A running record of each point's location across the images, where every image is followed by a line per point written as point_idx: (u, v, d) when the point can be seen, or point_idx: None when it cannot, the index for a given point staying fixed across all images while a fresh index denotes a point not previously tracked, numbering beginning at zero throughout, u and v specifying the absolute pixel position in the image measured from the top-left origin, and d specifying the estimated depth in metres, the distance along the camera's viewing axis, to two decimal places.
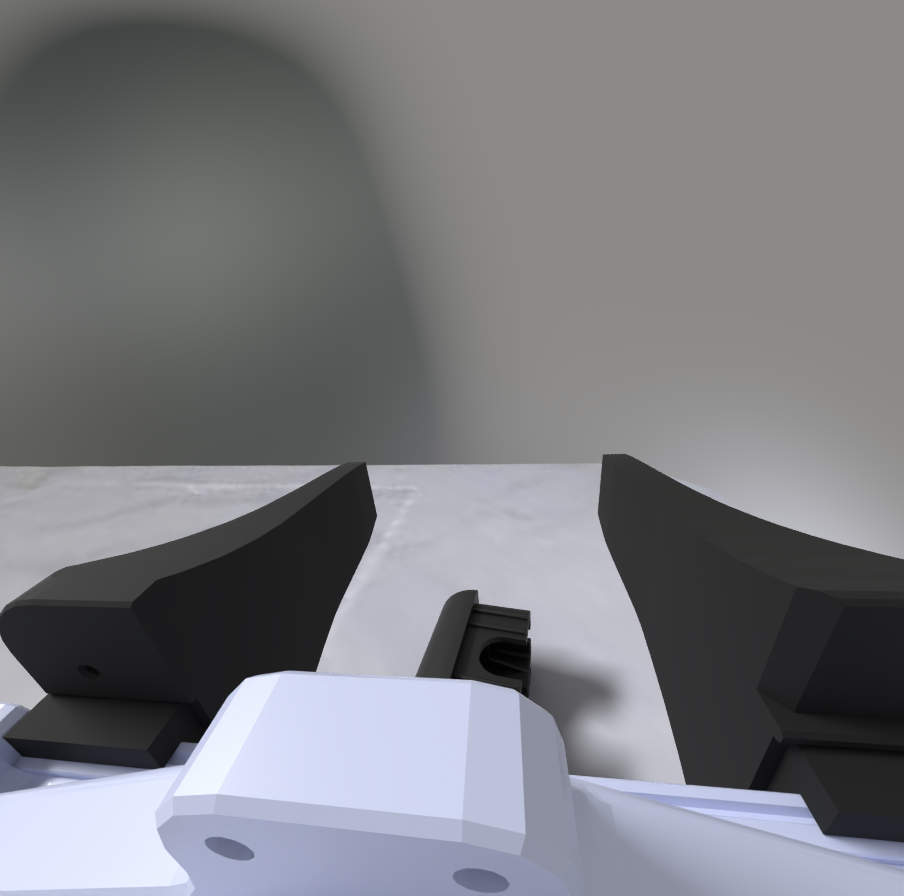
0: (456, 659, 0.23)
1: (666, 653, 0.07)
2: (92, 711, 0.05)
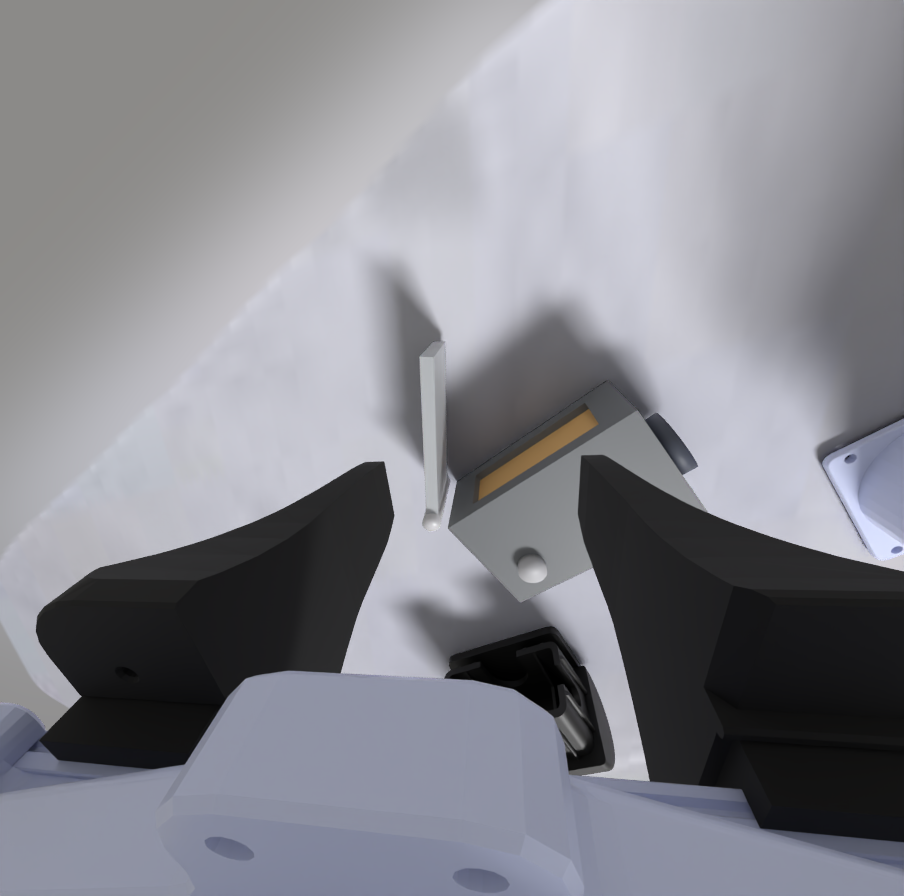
0: None
1: (633, 652, 0.07)
2: (129, 714, 0.05)
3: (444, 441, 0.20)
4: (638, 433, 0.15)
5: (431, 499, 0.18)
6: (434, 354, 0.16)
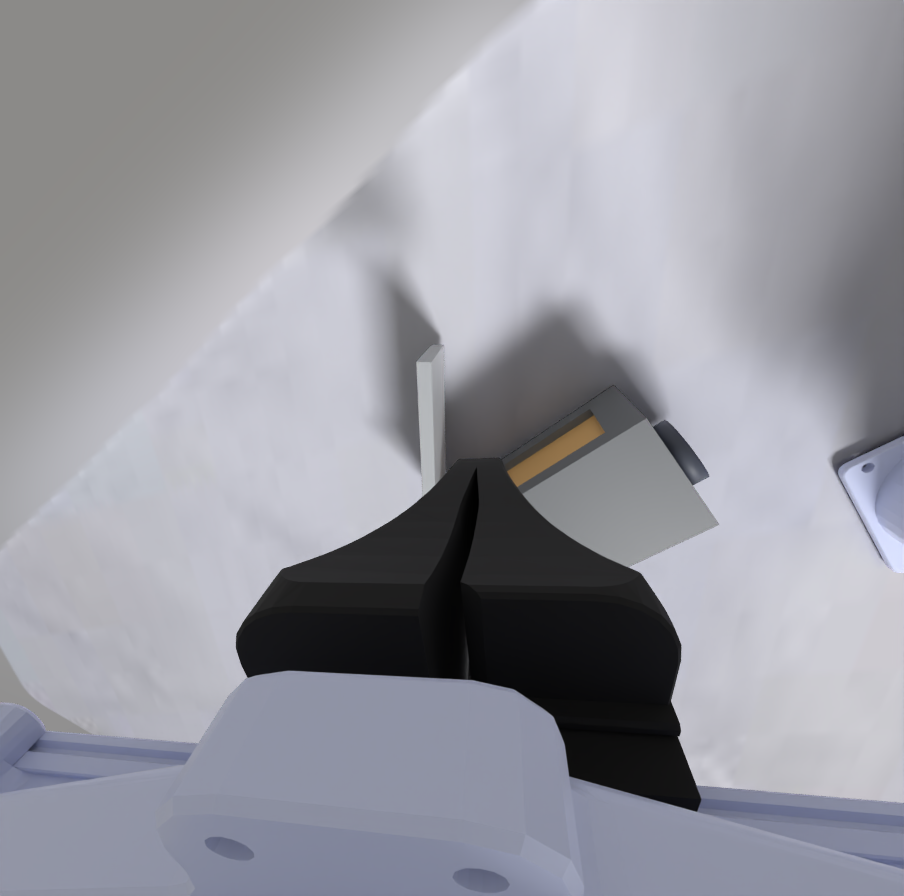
0: None
1: None
2: None
3: (443, 448, 0.19)
4: (647, 442, 0.14)
5: None
6: (432, 359, 0.15)
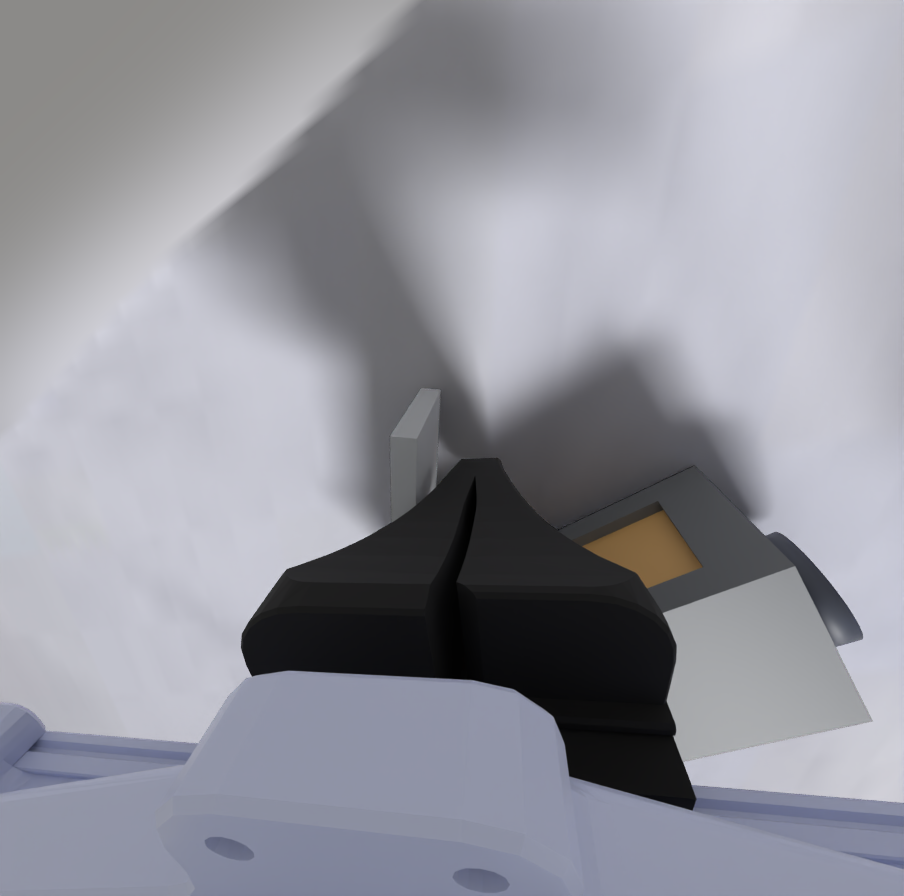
0: None
1: None
2: None
3: None
4: (785, 601, 0.08)
5: None
6: (419, 429, 0.09)
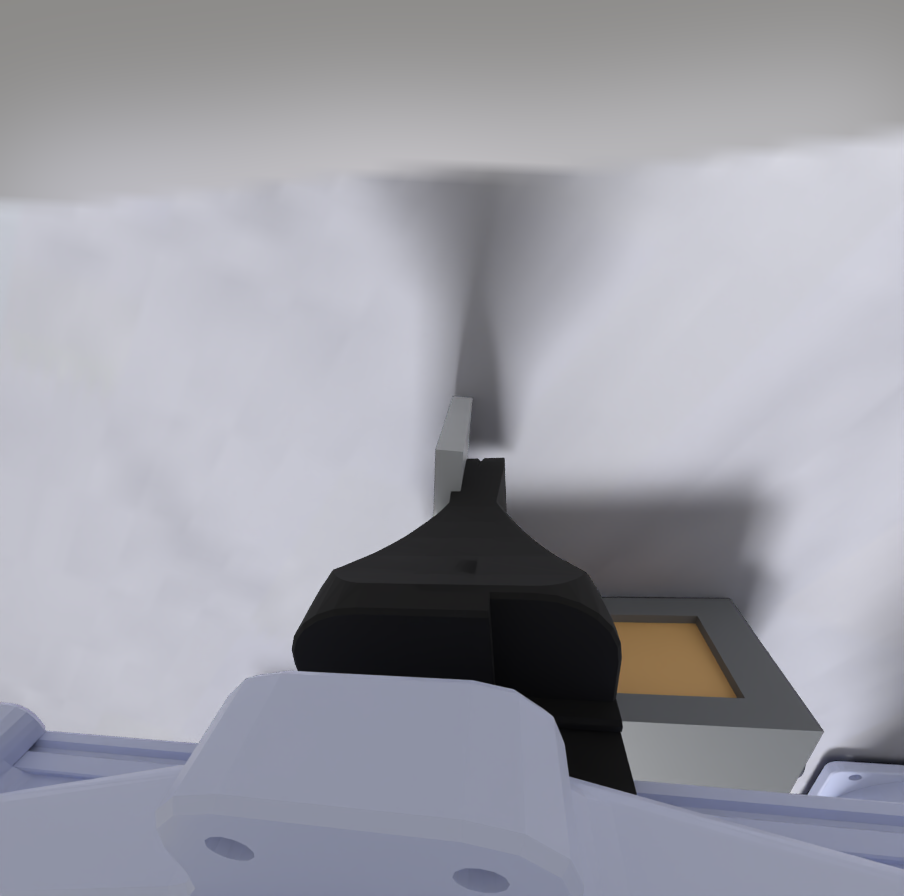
0: None
1: None
2: None
3: None
4: (794, 749, 0.11)
5: None
6: (462, 441, 0.08)
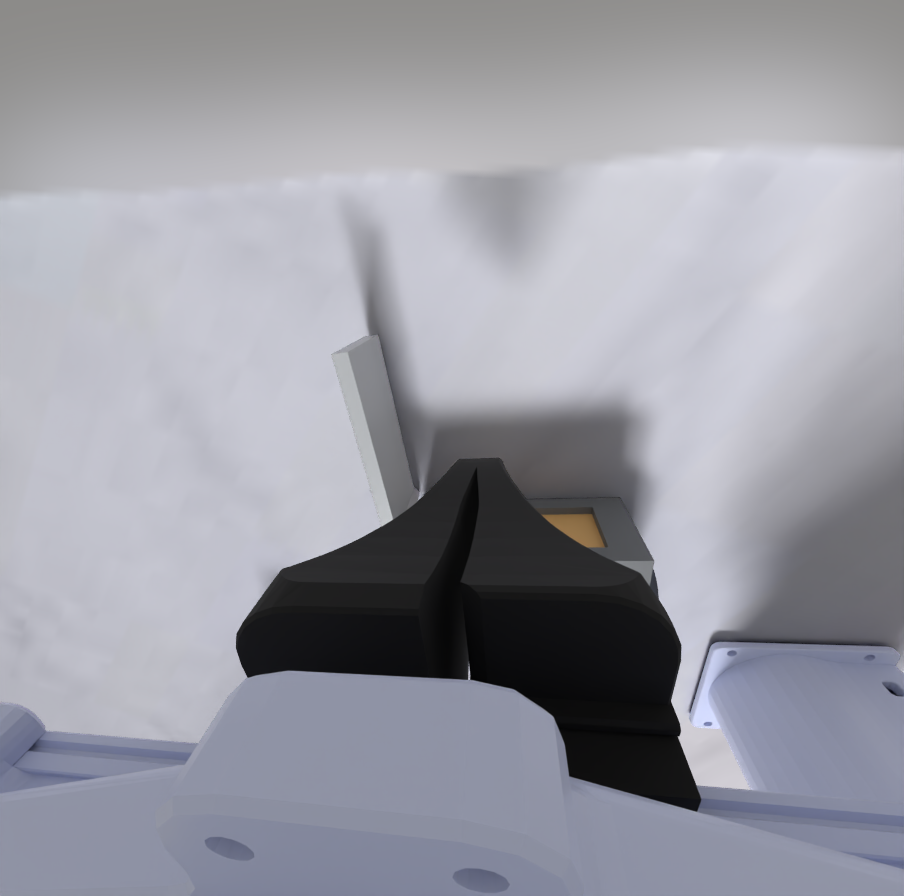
0: None
1: None
2: None
3: (398, 449, 0.17)
4: None
5: (385, 518, 0.16)
6: (351, 349, 0.13)
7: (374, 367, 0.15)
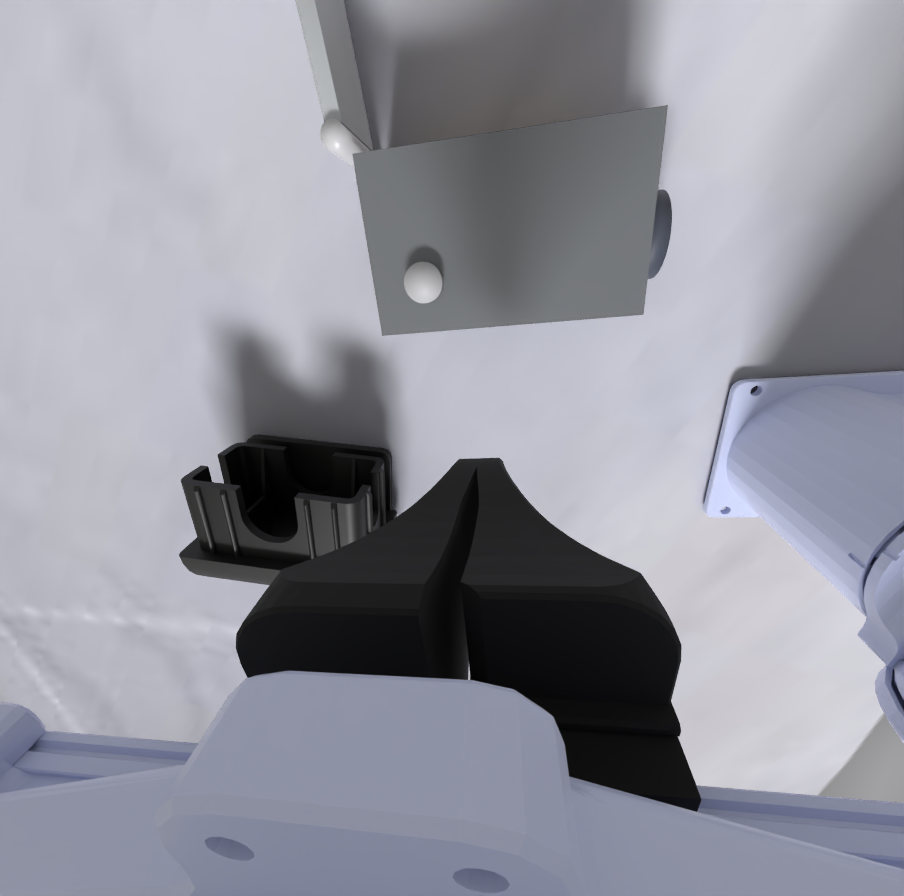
0: None
1: None
2: None
3: (349, 58, 0.14)
4: (647, 145, 0.12)
5: (326, 91, 0.12)
6: None
7: None
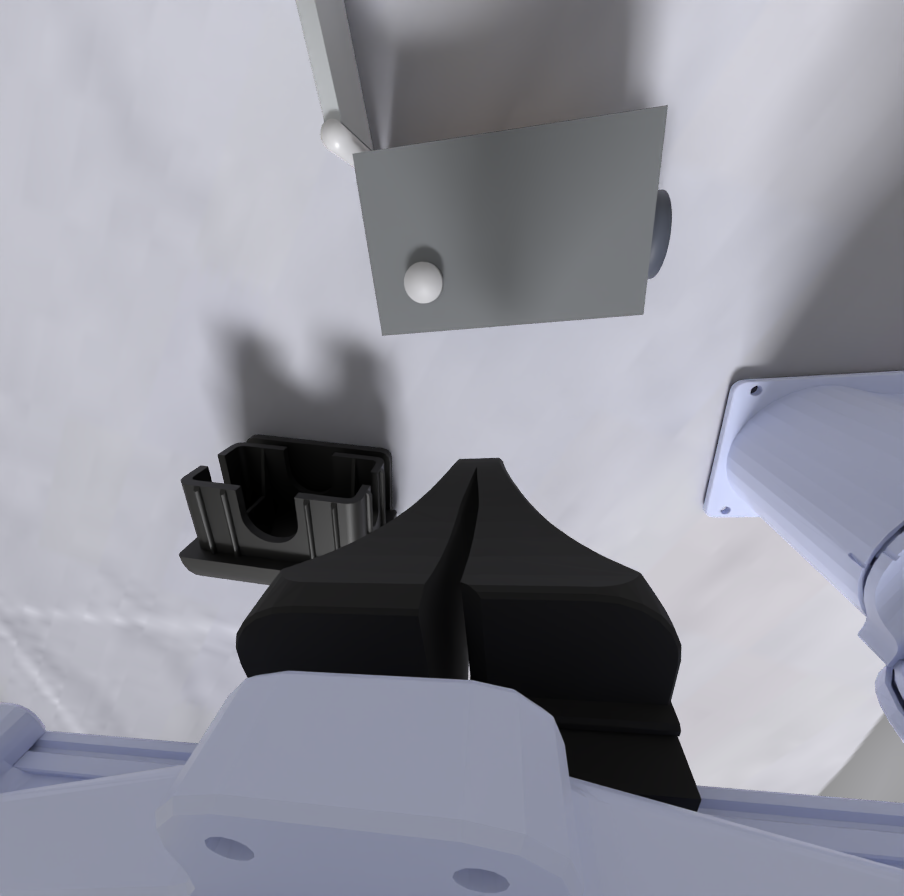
0: None
1: None
2: None
3: (349, 58, 0.14)
4: (647, 145, 0.12)
5: (326, 91, 0.12)
6: None
7: None
